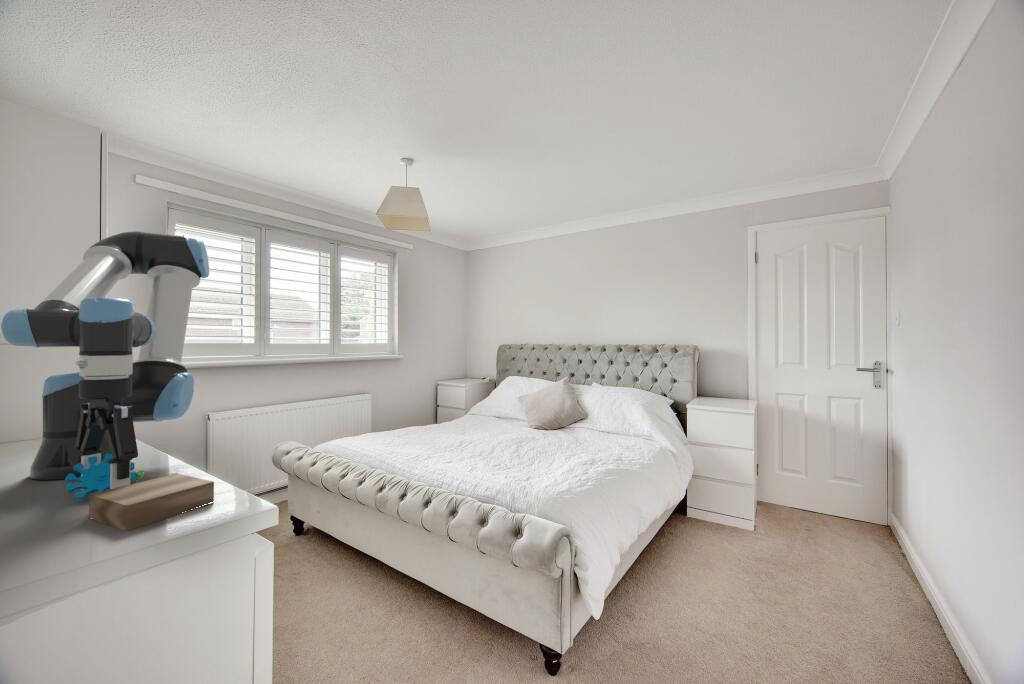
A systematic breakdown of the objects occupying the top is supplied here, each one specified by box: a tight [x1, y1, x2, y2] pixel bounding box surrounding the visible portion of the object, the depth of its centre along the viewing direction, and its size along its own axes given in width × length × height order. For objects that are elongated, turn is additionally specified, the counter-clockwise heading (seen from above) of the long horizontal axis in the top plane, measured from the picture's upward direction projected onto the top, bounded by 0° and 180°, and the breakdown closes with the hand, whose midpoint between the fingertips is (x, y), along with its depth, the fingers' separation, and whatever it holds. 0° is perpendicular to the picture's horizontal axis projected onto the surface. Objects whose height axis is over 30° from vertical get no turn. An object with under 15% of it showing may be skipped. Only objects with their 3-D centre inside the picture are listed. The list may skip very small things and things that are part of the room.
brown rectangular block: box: [88, 473, 215, 532], centre depth 75 cm, size 12×13×4 cm
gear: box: [64, 454, 145, 501], centre depth 83 cm, size 11×6×10 cm
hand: (105, 491), depth 82 cm, fingers open, 10 cm apart
